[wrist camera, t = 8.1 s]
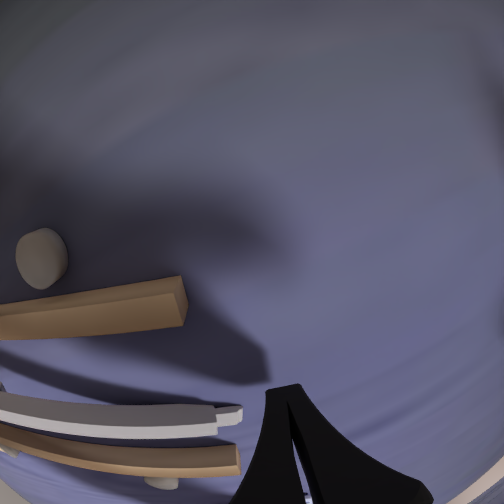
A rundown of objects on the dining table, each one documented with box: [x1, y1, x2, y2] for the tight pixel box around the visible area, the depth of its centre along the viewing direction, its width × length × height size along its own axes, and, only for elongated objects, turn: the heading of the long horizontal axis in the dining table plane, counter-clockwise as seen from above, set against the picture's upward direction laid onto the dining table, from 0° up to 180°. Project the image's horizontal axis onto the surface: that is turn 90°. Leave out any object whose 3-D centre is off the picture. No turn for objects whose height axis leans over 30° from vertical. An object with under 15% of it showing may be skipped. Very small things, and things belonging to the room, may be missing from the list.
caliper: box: [0, 382, 243, 439], centre depth 9 cm, size 20×1×6 cm, turn 88°
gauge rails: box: [0, 228, 241, 490], centre depth 10 cm, size 20×27×2 cm
